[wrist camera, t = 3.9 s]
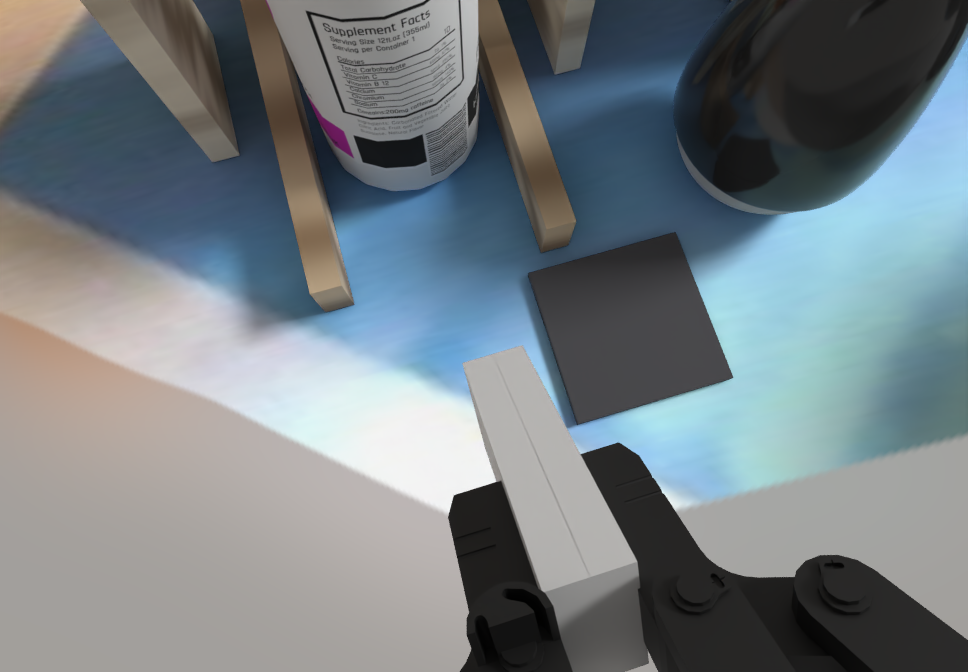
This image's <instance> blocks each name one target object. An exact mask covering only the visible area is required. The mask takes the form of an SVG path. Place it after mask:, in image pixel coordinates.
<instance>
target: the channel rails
mask: <svg viewBox="0 0 968 672" xmlns="http://www.w3.org/2000/svg"><path fill="white" fill-rule="evenodd" d="M240 2H241V6H242V10H243V14H244V18H245V23H246V27H247V31H248V35H249V40H250V44H251V48H252V52H253V56H254V61H255V65H256V69H257V73H258V77H259V82H260V86H261V90H262V94H263V99H264V103H265V107H266V111H267V115H268V120H269V124H270V128H271V132H272V137H273V141H274V145H275V149H276V153H277V158H278V162H279V166H280V170H281V175H282V179H283V183H284V187H285V191H286V196H287V200H288V204H289V208H290V212H291V217H292V221H293V225H294V229H295V234H296V238H297V242H298V246H299V250H300V255H301V259H302V263H303V267H304V272H305V276H306V280H307V284H308V288H309V293H310V295H311V296H312V297H313V298H314V300H315V301H316V302H317V303H318V304H319V305H320V306H321V308H322V309H323V310H324V311H325V312H329V311H333V310H336V309H340V308H344V307H347V306H351V305H354V301H353V297H352V293H351V289H350V285H349V281H348V277H347V273H346V269H345V266H344V262H343V258H342V254H341V250H340V246H339V242H338V238H337V234H336V230H335V226H334V222H333V218H332V214H331V210H330V207H329V203H328V199H327V195H326V191H325V187H324V183H323V179H322V175H321V171H320V167H319V163H318V159H317V155H316V151H315V148H314V144H313V140H312V136H311V132H310V128H309V124H308V120H307V116H306V112H305V108H304V104H303V100H302V96H301V92H300V89H299V85H298V81H297V77H296V73H295V69H294V65H293V62H292V60H291V57H290V55H289V53H288V51H287V48H286V46H285V44H284V42H283V39H282V37H281V35H280V33H279V30H278V28H277V26H276V23H275V21H274V19H273V17H272V14H271V12H270V10H269V8H268V5H267V3H266V1H265V0H240ZM478 43H479V71H480V74H481V77H482V80H483V83H484V86H485V89H486V91H487V94H488V97H489V100H490V103H491V106H492V109H493V112H494V115H495V118H496V121H497V124H498V127H499V130H500V133H501V136H502V139H503V142H504V145H505V148H506V151H507V154H508V157H509V160H510V163H511V166H512V168H513V171H514V174H515V177H516V180H517V183H518V186H519V189H520V192H521V195H522V198H523V201H524V204H525V207H526V210H527V213H528V216H529V219H530V222H531V225H532V228H533V231H534V234H535V237H536V240H537V243H538V246H539V248H540V251H541V253H542V252H546V251H550V250H553V249H557V248H560V247H564V246H568V245H569V242H570V239H571V236H572V233H573V230H574V227H575V224H576V218H575V215H574V212H573V210H572V207H571V204H570V201H569V198H568V196H567V193H566V190H565V187H564V184H563V182H562V179H561V176H560V173H559V170H558V168H557V165H556V162H555V159H554V156H553V154H552V151H551V148H550V145H549V142H548V140H547V137H546V134H545V131H544V128H543V126H542V123H541V120H540V117H539V114H538V112H537V109H536V106H535V103H534V100H533V98H532V95H531V92H530V89H529V86H528V84H527V81H526V78H525V75H524V72H523V70H522V67H521V64H520V61H519V58H518V56H517V53H516V50H515V47H514V44H513V42H512V39H511V36H510V33H509V30H508V28H507V25H506V22H505V19H504V16H503V14H502V11H501V8H500V5H499V2H498V0H478Z"/></svg>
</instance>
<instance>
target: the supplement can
mask: <svg viewBox="0 0 968 672" xmlns="http://www.w3.org/2000/svg"><path fill="white" fill-rule="evenodd" d="M265 1H266V3H267V5H268V8H269V10H270V12H271V14H272V17H273V19H274V21H275V23H276V26H277V28H278V30H279V33H280V35H281V37H282V39H283V42H284V44H285V46H286V48H287V51H288V53H289V55H290V57H291V60H292V62H293V64H294V67H295V69H296V71H297V73H298V76H299V78H300V80H301V82H302V85H303V87H304V89H305V91H306V94H307V96H308V98H309V101H310V103H311V105H312V107H313V110H314V112H315V114H316V116H317V119H318V121H319V123H320V125H321V128H322V130H323V132H324V135H325V137H326V139H327V141H328V144H329V146H330V148H331V150H332V152H333V153H334V155H335V156H336V157H337V159H338V160H339V162H340V163H341V165H342V166H343V168H344V169H345V170H346V171H347V172H349V173H350V174H352V175H353V176H355V177H356V178H358V179H359V180H361V181H362V182H364V183H365V184H367V185H371V186H374V187H378V188H382V189H386V190H390V191H403V190H418V189H422V188H425V187H427V186H430V185H432V184H434V183H437V182H439V181H442V180H444V179H446V178H447V177H448V176H449V175H450V174H452V173H453V172H454V171H455V170H456V169H457V168H458V167H460V166H461V165H462V164H463V163H464V162H465V161H466V159H467V157H468V155H469V153H470V151H471V150H472V148H473V146H474V144H475V142H476V140H477V132H478V123H479V43H478V0H265Z"/></svg>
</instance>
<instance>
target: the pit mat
mask: <svg viewBox="0 0 968 672" xmlns="http://www.w3.org/2000/svg"><path fill="white" fill-rule="evenodd" d="M528 277H529V280H530V283H531V286H532V289H533V292H534V295H535V298H536V301H537V304H538V307H539V310H540V313H541V316H542V319H543V322H544V325H545V328H546V331H547V335H548V338H549V341H550V344H551V347H552V350H553V353H554V356H555V359H556V362H557V365H558V368H559V371H560V374H561V377H562V380H563V383H564V386H565V389H566V392H567V395H568V398H569V401H570V404H571V407H572V410H573V414H574V417H575V420H576V423H577V425H578V424H581V423H584V422H588V421H591V420H595V419H598V418H601V417H605V416H608V415H611V414H615V413H618V412H621V411H625V410H628V409H631V408H635V407H638V406H641V405H645V404H648V403H651V402H655V401H658V400H662V399H665V398H668V397H672V396H675V395H678V394H682V393H685V392H688V391H692V390H695V389H698V388H702V387H705V386H708V385H712V384H715V383H718V382H722V381H725V380H729V379H731V378H733V375H732V373H731V370H730V368H729V365H728V363H727V360H726V358H725V355H724V353H723V350H722V348H721V345H720V343H719V340H718V338H717V335H716V333H715V330H714V328H713V325H712V323H711V320H710V318H709V315H708V313H707V310H706V308H705V305H704V302H703V300H702V297H701V295H700V292H699V290H698V287H697V285H696V282H695V280H694V277H693V275H692V272H691V270H690V267H689V265H688V262H687V260H686V257H685V255H684V252H683V250H682V247H681V245H680V242H679V240H678V237H677V234H676V232H674V233H670V234H667V235H663V236H659V237H656V238H652V239H649V240H645V241H641V242H638V243H634V244H631V245H627V246H624V247H620V248H616V249H613V250H609V251H606V252H602V253H598V254H595V255H591V256H588V257H584V258H581V259H577V260H573V261H570V262H566V263H563V264H559V265H555V266H552V267H548V268H545V269H541V270H537V271H534V272H530V273H529V274H528Z"/></svg>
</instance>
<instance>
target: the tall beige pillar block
mask: <svg viewBox="0 0 968 672" xmlns="http://www.w3.org/2000/svg"><path fill="white" fill-rule="evenodd" d="M80 1H81V2H82V3H83V4H84V6H85V7H86V8H87V9H88V11H89V12H90V13H91V14H92V15H93V17H94V18H95V19H96V20H97V22H98V23H99V24H100V25H101V27H102V28H103V29H104V30H105V31H106V33H107V34H108V35H109V36H110V38H111V39H112V40H113V41H114V42H115V44H116V45H117V46H118V47H119V49H120V50H121V51H122V52H123V53H124V55H125V56H126V57H127V58H128V60H129V61H130V62H131V63H132V64H133V66H134V67H135V68H136V69H137V71H138V72H139V73H140V74H141V75H142V77H143V78H144V79H145V80H146V82H147V83H148V84H149V85H150V87H151V88H152V89H153V90H154V91H155V93H156V94H157V95H158V96H159V98H160V99H161V100H162V101H163V102H164V104H165V105H166V106H167V107H168V109H169V110H170V111H171V112H172V113H173V115H174V116H175V117H176V118H177V120H178V121H179V122H180V123H181V124H182V126H183V127H184V128H185V129H186V131H187V132H188V133H189V134H190V135H191V137H192V138H193V139H194V140H195V142H196V143H197V144H198V145H199V147H200V148H201V149H202V150H203V151H204V153H205V154H206V155H207V156H208V158H209V159H210V160H211V161H212V162H216V161H220V160H224V159H228V158H232V157H236V156H240V154H239V149H238V145H237V140H236V136H235V131H234V127H233V122H232V118H231V113H230V109H229V104H228V100H227V95H226V91H225V86H224V82H223V77H222V72H221V68H220V63H219V59H218V54H217V50H216V45H215V41H214V36H213V34H212V32H211V31H210V29H209V27H208V25H207V24H206V22H205V20H204V19H203V17H202V15H201V14H200V12H199V10H198V8H197V7H196V5H195V3H194V2H193V0H80ZM527 1H528V4H529V7H530V9H531V12H532V15H533V17H534V20H535V23H536V26H537V28H538V31H539V34H540V36H541V39H542V42H543V44H544V47H545V50H546V52H547V55H548V58H549V61H550V63H551V66H552V69H553V71H554V74H555V75H556V74H560V73H564V72H568V71H571V70H575V69H579V68H580V66H581V62H582V57H583V53H584V48H585V44H586V40H587V35H588V31H589V27H590V22H591V18H592V13H593V9H594V5H595V0H527Z"/></svg>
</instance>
